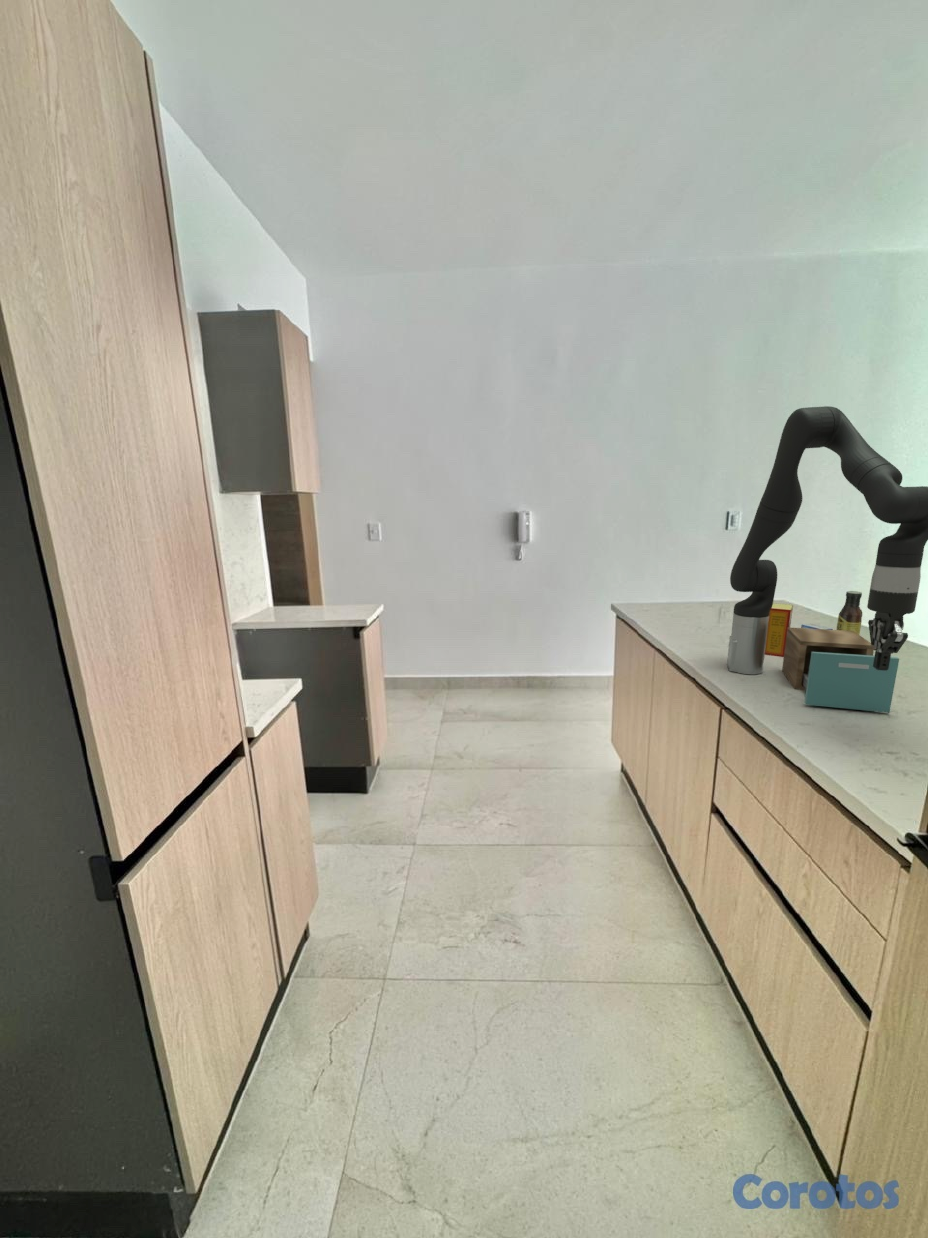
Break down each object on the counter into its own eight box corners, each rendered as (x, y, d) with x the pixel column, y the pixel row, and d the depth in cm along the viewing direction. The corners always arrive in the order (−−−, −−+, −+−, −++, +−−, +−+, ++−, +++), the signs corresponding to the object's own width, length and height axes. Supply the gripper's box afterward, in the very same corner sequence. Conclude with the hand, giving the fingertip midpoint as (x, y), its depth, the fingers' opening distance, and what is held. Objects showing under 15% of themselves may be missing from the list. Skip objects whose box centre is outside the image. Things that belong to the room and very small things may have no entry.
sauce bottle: (834, 646, 173) (842, 589, 168) (857, 649, 169) (866, 591, 164) (832, 651, 168) (841, 592, 163) (856, 654, 164) (865, 594, 159)
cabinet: (794, 689, 137) (801, 641, 134) (781, 671, 150) (787, 627, 147) (866, 695, 131) (874, 645, 128) (846, 676, 145) (853, 630, 142)
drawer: (805, 704, 125) (813, 653, 122) (790, 683, 139) (797, 637, 136) (889, 712, 119) (899, 659, 116) (865, 690, 133) (873, 641, 130)
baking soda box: (765, 647, 174) (770, 601, 170) (787, 649, 170) (793, 603, 166) (761, 654, 167) (767, 606, 163) (784, 657, 163) (790, 609, 159)
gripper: (933, 594, 95) (917, 681, 99) (902, 583, 107) (888, 661, 111) (884, 593, 97) (871, 677, 101) (859, 582, 110) (847, 658, 113)
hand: (880, 669), depth 106 cm, fingers closed
